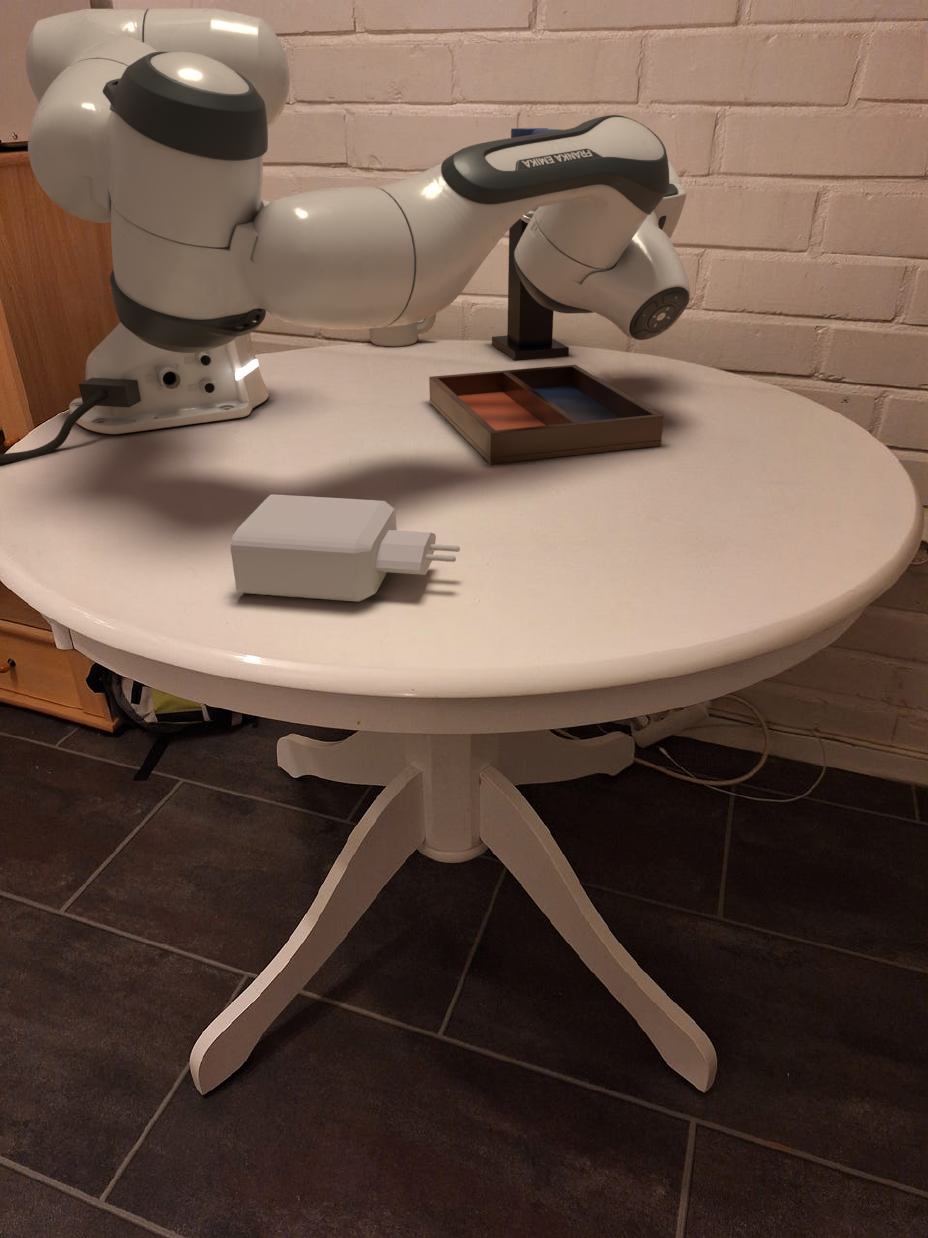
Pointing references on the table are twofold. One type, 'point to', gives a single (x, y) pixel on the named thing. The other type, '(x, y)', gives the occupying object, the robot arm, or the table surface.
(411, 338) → the cup
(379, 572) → the charger
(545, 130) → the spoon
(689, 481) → the table surface
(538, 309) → the spoon stand
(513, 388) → the sorting tray
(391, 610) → the table surface
